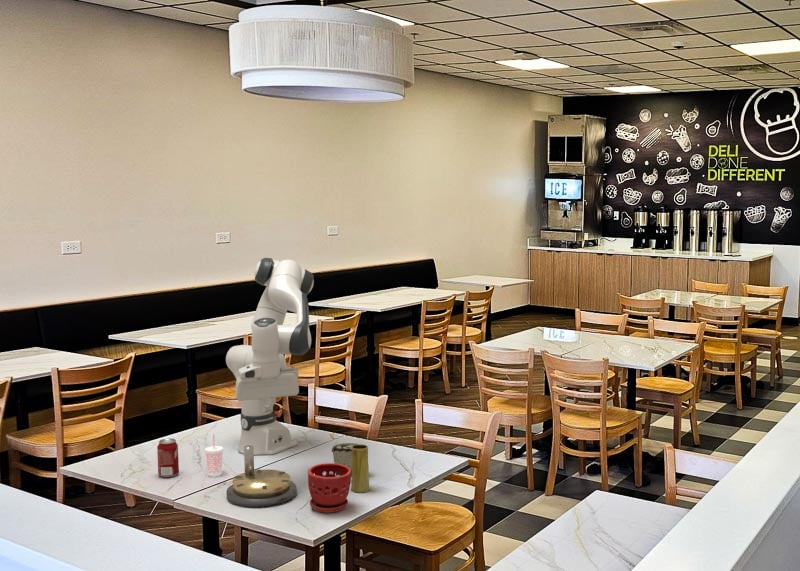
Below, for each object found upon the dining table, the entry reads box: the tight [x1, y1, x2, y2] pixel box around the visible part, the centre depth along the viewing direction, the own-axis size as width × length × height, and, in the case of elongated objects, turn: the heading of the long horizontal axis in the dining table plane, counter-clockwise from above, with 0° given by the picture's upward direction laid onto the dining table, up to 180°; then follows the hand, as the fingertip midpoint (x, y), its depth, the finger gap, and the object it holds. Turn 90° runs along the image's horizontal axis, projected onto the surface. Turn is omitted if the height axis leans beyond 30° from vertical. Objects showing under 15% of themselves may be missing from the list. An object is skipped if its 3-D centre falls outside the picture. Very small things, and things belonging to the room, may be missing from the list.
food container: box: [331, 442, 358, 478], centre depth 282 cm, size 12×6×10 cm, turn 71°
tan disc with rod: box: [232, 446, 291, 498], centre depth 262 cm, size 18×18×12 cm
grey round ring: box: [225, 480, 298, 509], centre depth 263 cm, size 22×22×2 cm
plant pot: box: [307, 462, 352, 513], centre depth 252 cm, size 13×13×12 cm
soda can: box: [156, 438, 180, 479], centre depth 282 cm, size 7×7×12 cm
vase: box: [350, 443, 371, 494], centre depth 267 cm, size 6×6×14 cm
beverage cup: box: [204, 433, 224, 477], centre depth 282 cm, size 6×6×14 cm
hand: (268, 411), depth 268 cm, fingers closed
